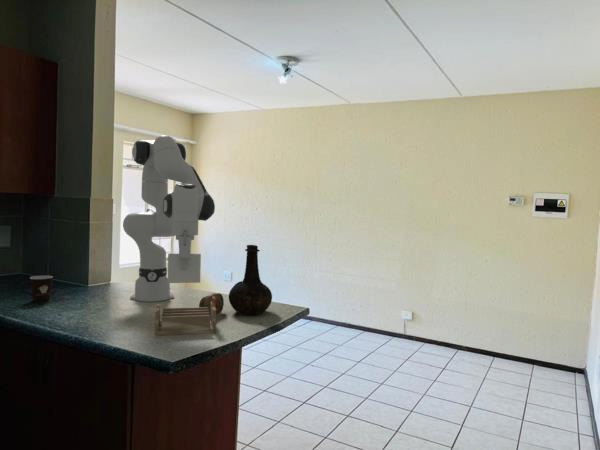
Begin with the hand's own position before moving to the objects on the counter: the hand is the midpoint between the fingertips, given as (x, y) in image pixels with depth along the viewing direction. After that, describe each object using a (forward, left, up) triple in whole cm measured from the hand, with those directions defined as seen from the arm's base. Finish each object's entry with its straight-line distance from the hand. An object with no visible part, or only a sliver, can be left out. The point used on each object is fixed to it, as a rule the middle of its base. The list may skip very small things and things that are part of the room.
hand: (184, 269), depth 157 cm
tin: (-17, +11, -22) cm, 30 cm away
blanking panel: (0, 0, -5) cm, 5 cm away
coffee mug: (-51, -60, -22) cm, 82 cm away
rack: (0, +1, -21) cm, 21 cm away
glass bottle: (-20, +27, -22) cm, 40 cm away
